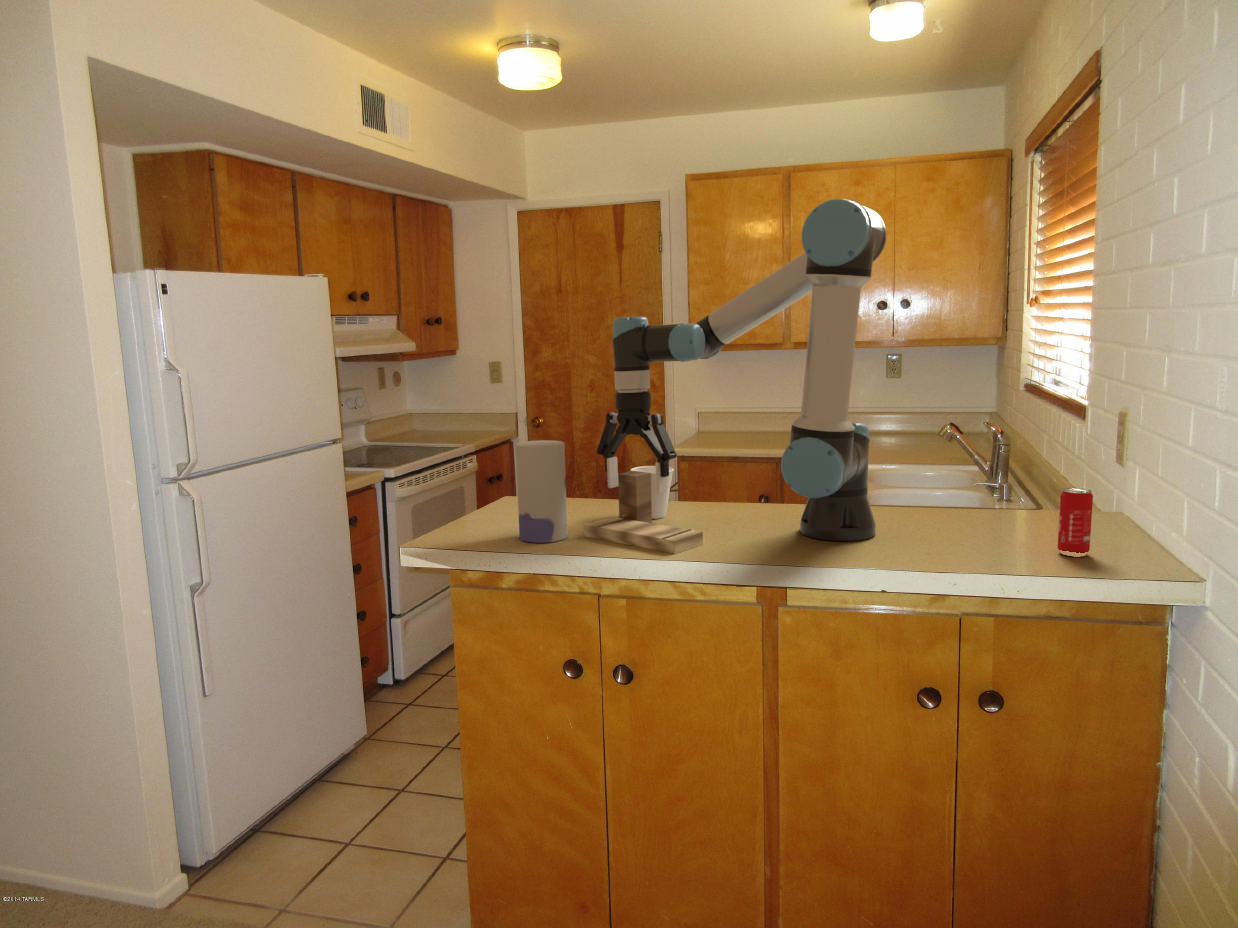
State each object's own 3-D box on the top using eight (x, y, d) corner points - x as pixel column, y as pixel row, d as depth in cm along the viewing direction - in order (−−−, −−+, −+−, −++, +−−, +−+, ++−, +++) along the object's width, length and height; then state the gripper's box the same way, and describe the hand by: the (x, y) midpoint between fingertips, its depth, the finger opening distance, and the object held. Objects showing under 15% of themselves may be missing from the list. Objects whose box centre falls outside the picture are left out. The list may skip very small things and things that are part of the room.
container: (577, 535, 179) (574, 441, 176) (547, 545, 171) (543, 447, 168) (540, 529, 185) (536, 438, 182) (509, 539, 177) (505, 444, 174)
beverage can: (1072, 559, 154) (1076, 493, 152) (1050, 552, 158) (1054, 488, 156) (1095, 556, 155) (1100, 491, 153) (1073, 549, 160) (1077, 486, 158)
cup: (675, 520, 191) (674, 472, 189) (631, 521, 191) (630, 473, 189) (673, 511, 200) (672, 465, 199) (631, 512, 201) (630, 466, 199)
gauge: (651, 527, 185) (650, 472, 183) (632, 533, 180) (631, 477, 178) (634, 524, 188) (633, 470, 186) (614, 529, 184) (613, 475, 182)
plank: (702, 544, 170) (702, 531, 169) (675, 553, 163) (675, 540, 163) (612, 527, 185) (612, 516, 185) (584, 535, 179) (583, 523, 178)
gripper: (691, 389, 175) (694, 491, 178) (601, 389, 191) (605, 482, 194) (668, 392, 169) (672, 497, 172) (578, 391, 186) (582, 487, 189)
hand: (637, 489), depth 183 cm, fingers open, 13 cm apart
